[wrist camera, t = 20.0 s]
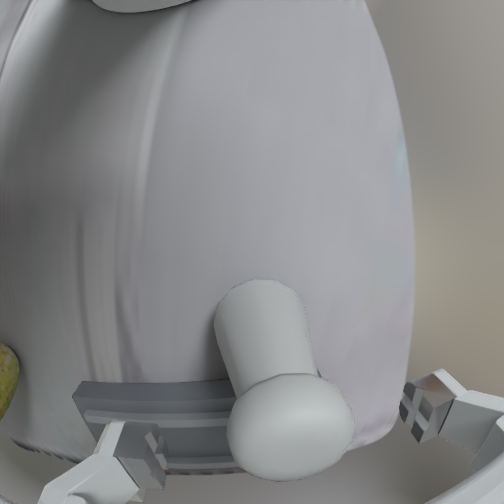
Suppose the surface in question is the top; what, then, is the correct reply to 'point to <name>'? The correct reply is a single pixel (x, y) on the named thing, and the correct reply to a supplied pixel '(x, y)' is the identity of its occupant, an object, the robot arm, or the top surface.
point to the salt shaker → (278, 386)
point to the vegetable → (7, 377)
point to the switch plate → (168, 416)
